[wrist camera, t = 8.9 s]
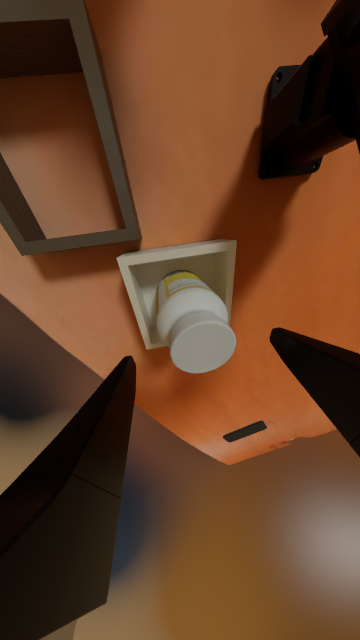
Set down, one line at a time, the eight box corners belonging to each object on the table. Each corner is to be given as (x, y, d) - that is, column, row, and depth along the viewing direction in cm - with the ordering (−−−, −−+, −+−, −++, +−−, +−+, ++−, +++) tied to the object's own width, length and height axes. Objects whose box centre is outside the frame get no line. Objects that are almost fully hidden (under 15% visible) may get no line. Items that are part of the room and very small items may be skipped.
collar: (98, 45, 10) (78, -20, 7) (142, 238, 16) (139, 239, 14) (-69, 55, 9) (-153, -11, 7) (43, 252, 16) (21, 255, 13)
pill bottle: (173, 320, 22) (187, 392, 12) (146, 287, 18) (133, 347, 9) (210, 297, 21) (260, 355, 11) (187, 257, 17) (228, 287, 7)
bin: (219, 239, 17) (236, 240, 14) (217, 318, 24) (229, 334, 20) (125, 252, 17) (116, 257, 13) (148, 330, 23) (146, 349, 19)
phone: (222, 437, 50) (263, 421, 47) (221, 434, 50) (261, 418, 48) (229, 442, 53) (267, 428, 51) (228, 440, 54) (265, 425, 52)
